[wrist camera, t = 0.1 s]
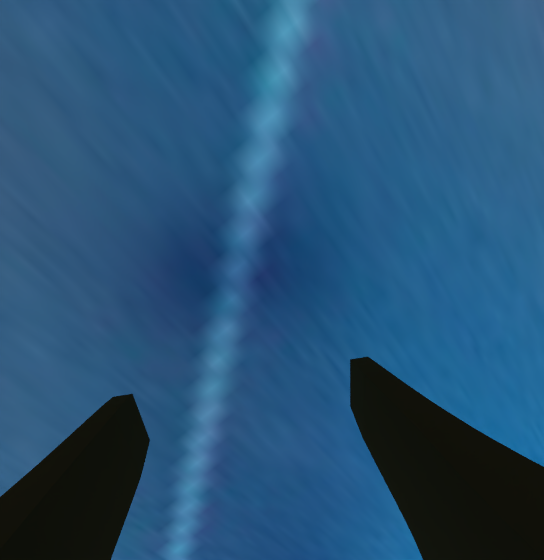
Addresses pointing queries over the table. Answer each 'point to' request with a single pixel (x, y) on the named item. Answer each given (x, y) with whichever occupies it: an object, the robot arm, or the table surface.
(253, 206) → the table surface
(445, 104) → the table surface
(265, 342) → the table surface
